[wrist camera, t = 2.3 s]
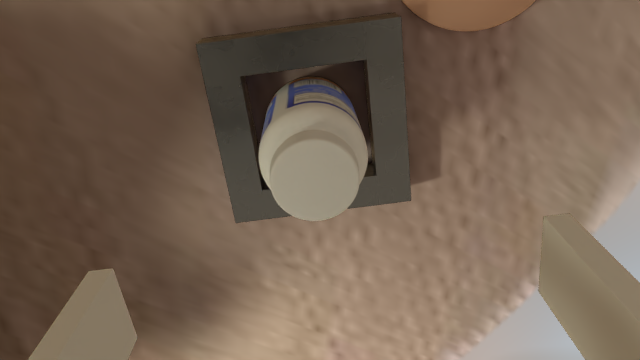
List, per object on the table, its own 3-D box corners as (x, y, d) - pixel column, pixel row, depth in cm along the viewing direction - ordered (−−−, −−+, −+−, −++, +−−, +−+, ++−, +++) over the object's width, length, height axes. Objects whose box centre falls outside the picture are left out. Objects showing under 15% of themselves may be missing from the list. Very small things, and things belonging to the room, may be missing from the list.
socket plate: (239, 208, 33) (235, 223, 31) (202, 38, 28) (195, 44, 27) (404, 187, 33) (410, 200, 31) (394, 12, 28) (401, 16, 26)
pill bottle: (306, 174, 32) (308, 258, 23) (248, 113, 30) (226, 179, 22) (372, 121, 31) (401, 189, 22) (315, 54, 29) (322, 98, 20)
